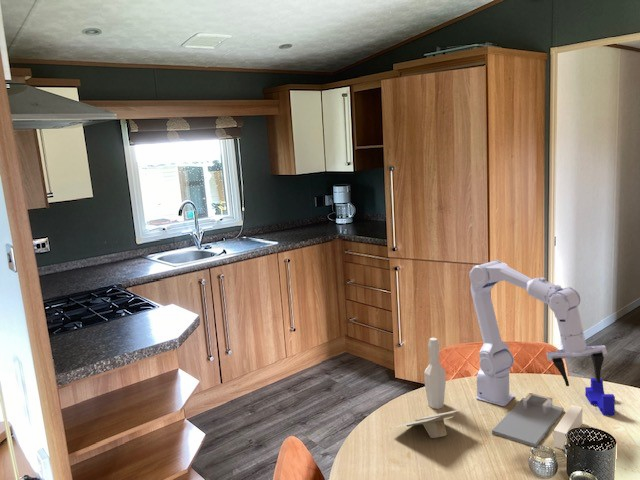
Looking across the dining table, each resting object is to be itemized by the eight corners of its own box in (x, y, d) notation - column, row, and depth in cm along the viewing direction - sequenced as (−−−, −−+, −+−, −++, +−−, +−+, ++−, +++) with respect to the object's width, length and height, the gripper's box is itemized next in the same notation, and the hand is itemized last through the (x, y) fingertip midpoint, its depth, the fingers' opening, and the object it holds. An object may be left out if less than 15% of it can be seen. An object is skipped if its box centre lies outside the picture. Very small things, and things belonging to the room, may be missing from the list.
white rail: (553, 447, 139) (553, 430, 138) (571, 421, 151) (571, 404, 150) (565, 451, 137) (565, 433, 136) (582, 423, 149) (582, 407, 148)
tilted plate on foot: (401, 458, 146) (435, 440, 136) (388, 428, 150) (419, 408, 140) (440, 444, 155) (474, 425, 146) (427, 416, 160) (459, 396, 150)
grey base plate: (492, 433, 147) (491, 420, 146) (523, 400, 164) (523, 388, 163) (535, 447, 139) (535, 433, 138) (563, 411, 156) (563, 398, 155)
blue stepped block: (585, 396, 164) (585, 378, 163) (600, 396, 163) (601, 378, 162) (597, 415, 152) (597, 396, 151) (614, 415, 151) (614, 396, 150)
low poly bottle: (440, 411, 161) (437, 344, 157) (422, 406, 165) (419, 340, 161) (450, 403, 166) (447, 337, 162) (432, 398, 170) (429, 334, 166)
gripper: (544, 340, 139) (555, 391, 139) (604, 332, 135) (615, 384, 134) (542, 335, 146) (552, 383, 146) (599, 327, 141) (610, 376, 141)
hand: (582, 383), depth 140 cm, fingers open, 7 cm apart
